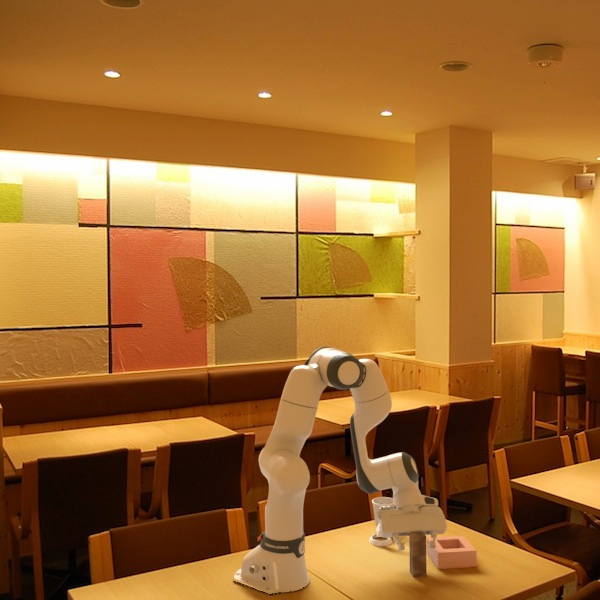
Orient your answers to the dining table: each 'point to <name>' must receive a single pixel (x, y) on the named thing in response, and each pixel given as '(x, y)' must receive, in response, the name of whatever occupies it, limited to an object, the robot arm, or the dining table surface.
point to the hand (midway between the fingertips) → (417, 548)
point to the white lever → (379, 542)
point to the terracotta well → (452, 552)
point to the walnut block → (417, 554)
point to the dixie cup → (380, 503)
